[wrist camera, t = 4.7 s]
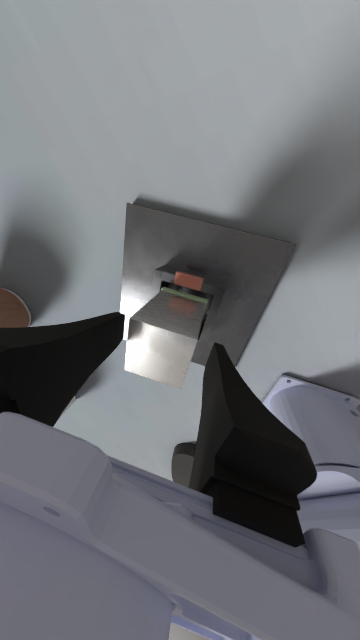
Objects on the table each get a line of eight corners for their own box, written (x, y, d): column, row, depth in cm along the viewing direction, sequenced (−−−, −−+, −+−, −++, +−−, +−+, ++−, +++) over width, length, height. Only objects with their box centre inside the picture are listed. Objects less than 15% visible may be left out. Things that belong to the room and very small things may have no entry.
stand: (291, 244, 16) (316, 245, 12) (230, 368, 23) (232, 396, 19) (131, 204, 17) (103, 193, 13) (122, 334, 24) (102, 353, 20)
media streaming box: (240, 492, 37) (242, 511, 34) (175, 474, 40) (172, 491, 37) (252, 454, 30) (255, 475, 28) (173, 436, 33) (169, 453, 31)
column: (208, 298, 15) (200, 338, 9) (196, 336, 17) (182, 390, 11) (164, 285, 16) (127, 316, 9) (157, 324, 18) (123, 370, 11)
